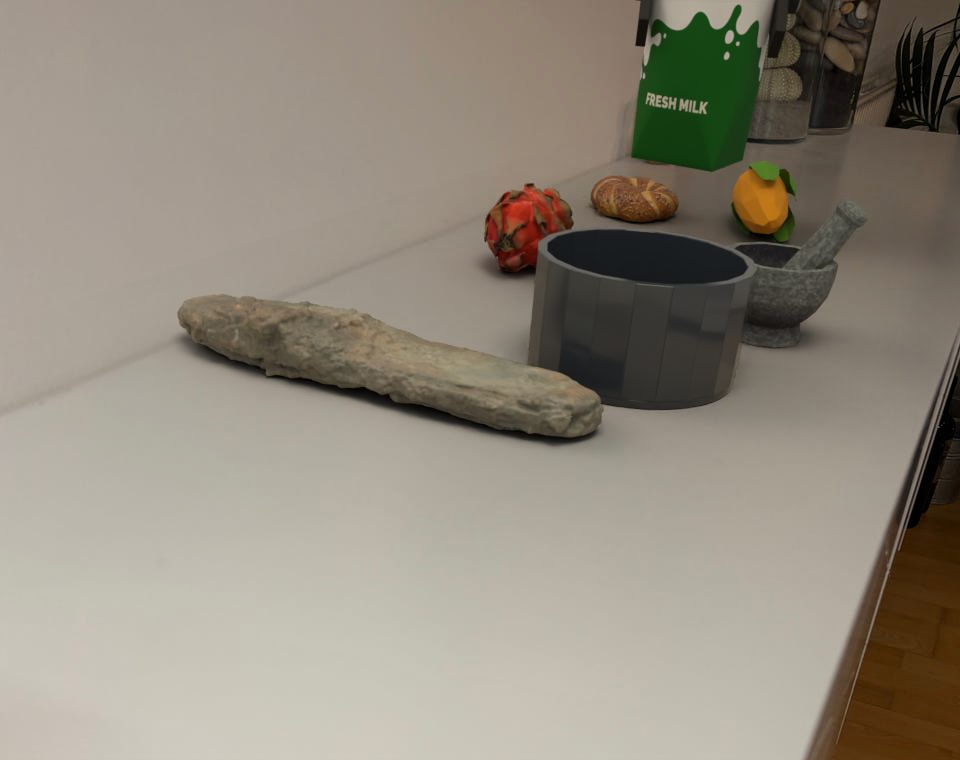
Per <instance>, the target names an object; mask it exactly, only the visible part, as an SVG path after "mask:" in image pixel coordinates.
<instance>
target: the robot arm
mask: <svg viewBox="0 0 960 760" xmlns="http://www.w3.org/2000/svg"><path fill="white" fill-rule="evenodd" d="M636 1H639V2H640V3H639V11H638V19H637V27H636V36H635V43H634V46H635V47H642V48H644V47H645V44H646V37H647V31H648V24H649V17H650V9H651V0H636ZM802 2H803V1H802V0H776V1H775V6H774V11H773V17H772V22H771V27H770V33H769V39H768V44H767V55H766V56H767V57H766V58H768V59H778V57H779V54H780V51H781V49H782V45H783V42H784V39H785V36H786V32H787V23H788V15H797V13H798V11H799V9H800V6H801V3H802Z"/></svg>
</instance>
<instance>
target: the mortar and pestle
mask: <svg viewBox="0 0 960 760" xmlns="http://www.w3.org/2000/svg"><path fill="white" fill-rule="evenodd" d="M868 219H869V218H868V216H867V213H866V212H865V211H864V209H863V208H862V207H861V206H860V205H859V204H858V203H856V202H854V201H852V200H851V199H849V198H842V199H841V200H840V201H839V202H838V203H837V204H836V207H835V211H834V212H833V213H832V214H831V215H830V216H829V217H828V218H827V220H826V221H825V222H824V223H823V224H822V225H821V226H820V227H819V228H818V229H817V230H816V232H814V233H813V235H812V236H811V237H810V238H809V239H808V240H807V241H806V242H805V243H804V244H803V245H802V246H798V245H792V244H785V243H775V242H768V241H746V242H732V243H730V244H729V245H726V246H727V247H730V248H733V249H736V250H738V251H739V252H741V253H743V254H744V255H746V256H748V257H749V258H751V259H752V260H753V261H754V263H755V265H756V267H757V268H758V270H757V275H756V280H755V285H754V289H753V294H752V299H751V304H750V309H749V314H748V319H747V323H746V328H745V333H744V338H743V343H746V344H748V345H750V346H751V345H752V346H757V347H765V348H773V349H777V348H786V347H787V348H788V347H793V346H794V345H795V344H797V342H799V340H800V335H801V324H802V323H803V322H805V321H806V320H808V319H809V318H810V317H811V316H813V315H814V314H815V313H816V312H817V311H818V310H819V309H820V308H821V306H822V305H823V304H824V302H826V300H827V299H828V298H829V296H830V293H831V291H832V288H833V285H834V283H835V280H836V276H837V274H838V273H837V272H838V269H839V265H840V263H838V262H837V261H836V260H835V257H836V256H837V254H838V253H839V252H840V251H841V250H842V248H843V247H844V245H846V243H847V241H849V239H850V238H851V237H852V235H853V234H854V233H855V231H856V230H857V229H859V228H862V227H863V226H865V224H866V223H867V222H868Z"/></svg>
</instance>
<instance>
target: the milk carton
mask: <svg viewBox="0 0 960 760" xmlns="http://www.w3.org/2000/svg"><path fill="white" fill-rule="evenodd" d="M775 1H776V0H651V9H650V17H649V24H648V31H647V37H646V44H645V47H643V52H642V53H643V54H642V61H641V69H640V75H639V76H640V77H639V83H638V84H639V85H638V91H637V98H636V99H637V100H636V106H635V107H636V108H635V117H634V126H633V127H634V128H633V136H632V144H631V145H632V146H631V154H630V158H632V159H637V160H644V161H648V162H654V163H659V164H666V165H671V166H676V167H681V168H686V169H694V170H700V171H704V172H710V173H713V172H716V171H718V170H721V169H724V168H726V167H728V166H732V165H734V164H737V163H739V162H742V161H744V155H745V152H746V147H747V142H748V137H749V134H750V130H751V126H752V122H753V116H754V112H755V107H756V104H757V98H758V94H759V88H760V86H761V85H760V84H761V80H762V75H763V69H764V65H765V64H764V63H765V59H766V56H767V55H766V53H767V50H768V44H769V33H770V27H771V22H772V17H773V11H774V6H775Z"/></svg>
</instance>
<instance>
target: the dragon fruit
mask: <svg viewBox="0 0 960 760" xmlns="http://www.w3.org/2000/svg"><path fill="white" fill-rule="evenodd" d="M571 207H572V206H570V204H569V203H568V202H567V201H565V200H564V199H563V198H561V194H560V192H559V190H557V189H556V188H550V187H547V188H545V189H544V191H542V190H541V188H537V187H536V186H535V183H534V182H525V183H524V185H523V188H522V190H516V189H510V190H507V191H506V192H504V193H503V194H502V195H501V196H500V197H499V198H498V200H497V201H496V203H495V204H494V206H492V208H491V209H490V210H489V211H488V213H487V214H486V217H485V219H484V233H483V241H484V243H487V246H488V248H489V250H490V251H491V253H492V255H493V256H494V257H495V258H497V259H496V260H497V262H498V266H497V271H499V272H501V273H503V272H510V273H516V272H518V271H520V270H521V269H523V268H526V267H527V266H532V267H533V268H534V269H535V270H536V263H537V252H538V242H539V241H541V240H542V239H544V238H545V237H547V236H548V235H550V234H554V233H558V232H562V231H566V230H571V229H573V227H574V225H575V221H574V220H573V218H572V216H573V210H572V208H571Z"/></svg>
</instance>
